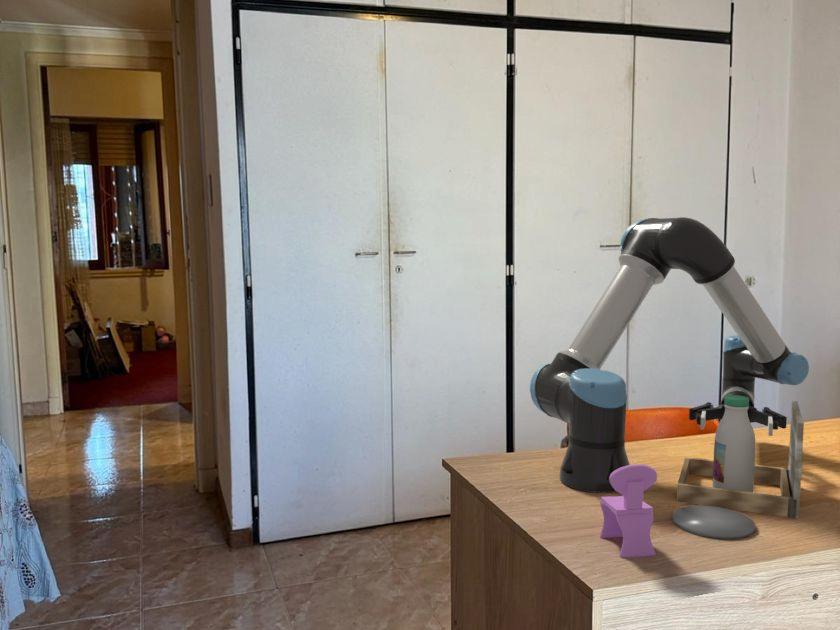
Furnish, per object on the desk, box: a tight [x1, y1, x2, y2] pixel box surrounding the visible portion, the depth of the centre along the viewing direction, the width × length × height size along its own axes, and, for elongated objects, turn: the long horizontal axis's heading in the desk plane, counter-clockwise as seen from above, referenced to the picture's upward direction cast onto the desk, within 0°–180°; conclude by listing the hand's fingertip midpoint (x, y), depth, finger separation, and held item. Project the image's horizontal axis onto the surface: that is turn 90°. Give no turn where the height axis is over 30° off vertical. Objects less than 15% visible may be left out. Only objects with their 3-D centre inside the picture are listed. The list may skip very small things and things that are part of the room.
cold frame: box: [676, 400, 805, 519], centre depth 149 cm, size 22×20×18 cm
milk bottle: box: [712, 395, 756, 493], centre depth 149 cm, size 8×8×20 cm
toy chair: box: [599, 463, 658, 558], centre depth 124 cm, size 8×9×15 cm
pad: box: [671, 504, 756, 540], centre depth 134 cm, size 14×14×1 cm
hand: (736, 426), depth 159 cm, fingers open, 13 cm apart
